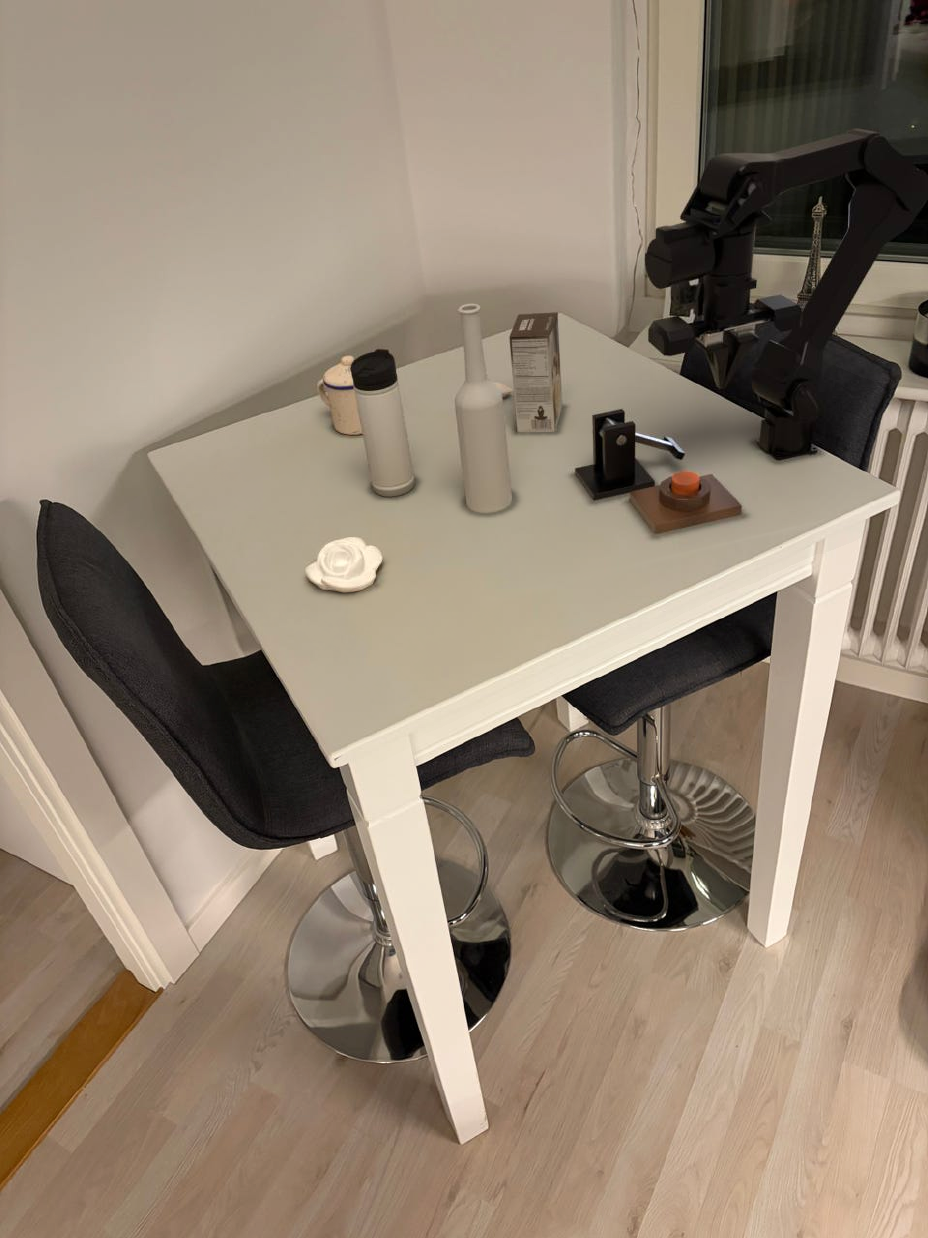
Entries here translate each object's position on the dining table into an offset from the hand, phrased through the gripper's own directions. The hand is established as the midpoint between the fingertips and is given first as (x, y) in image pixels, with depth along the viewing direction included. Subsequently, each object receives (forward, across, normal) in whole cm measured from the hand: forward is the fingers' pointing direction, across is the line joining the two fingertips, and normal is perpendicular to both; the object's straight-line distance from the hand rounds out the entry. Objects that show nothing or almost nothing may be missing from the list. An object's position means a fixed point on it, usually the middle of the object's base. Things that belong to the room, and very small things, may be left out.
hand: (720, 386), depth 124 cm
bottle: (+13, +32, -6) cm, 35 cm away
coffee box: (+13, +18, -26) cm, 34 cm away
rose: (+13, +54, +4) cm, 56 cm away
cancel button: (+10, +8, +7) cm, 15 cm away
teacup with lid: (+13, +47, -40) cm, 62 cm away
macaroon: (+13, +22, -37) cm, 45 cm away
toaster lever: (+8, +10, -3) cm, 14 cm away
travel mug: (+13, +44, -16) cm, 48 cm away
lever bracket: (+13, +14, -3) cm, 19 cm away
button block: (+13, +8, +7) cm, 17 cm away
